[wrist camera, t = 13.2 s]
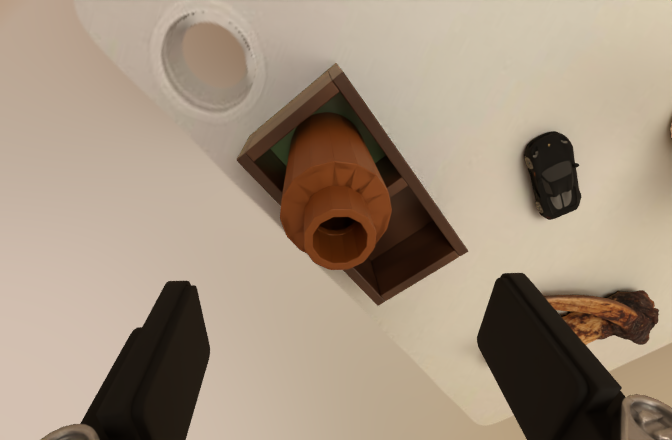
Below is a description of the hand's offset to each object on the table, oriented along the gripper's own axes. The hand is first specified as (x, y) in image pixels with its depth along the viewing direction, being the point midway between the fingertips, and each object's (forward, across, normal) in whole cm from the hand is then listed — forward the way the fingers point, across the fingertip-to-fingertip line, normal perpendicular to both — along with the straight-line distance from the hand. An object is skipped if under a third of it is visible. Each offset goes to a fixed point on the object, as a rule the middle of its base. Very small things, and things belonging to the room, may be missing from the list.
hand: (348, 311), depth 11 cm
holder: (+19, -3, +4) cm, 20 cm away
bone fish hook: (+19, -26, +20) cm, 38 cm away
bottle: (+18, 0, +1) cm, 18 cm away
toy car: (+19, -20, +3) cm, 28 cm away
